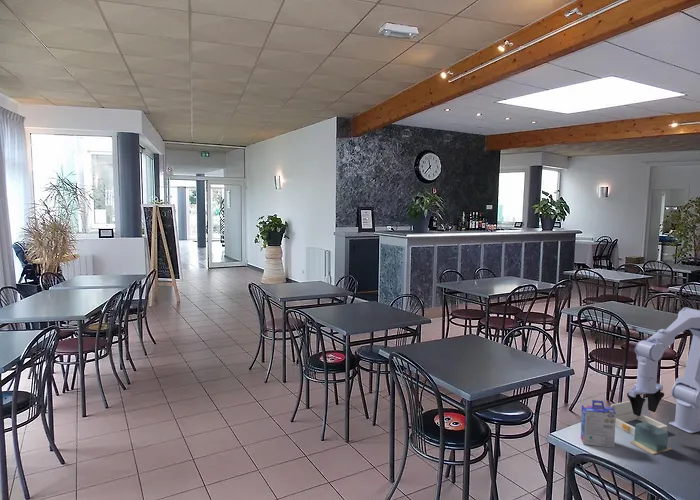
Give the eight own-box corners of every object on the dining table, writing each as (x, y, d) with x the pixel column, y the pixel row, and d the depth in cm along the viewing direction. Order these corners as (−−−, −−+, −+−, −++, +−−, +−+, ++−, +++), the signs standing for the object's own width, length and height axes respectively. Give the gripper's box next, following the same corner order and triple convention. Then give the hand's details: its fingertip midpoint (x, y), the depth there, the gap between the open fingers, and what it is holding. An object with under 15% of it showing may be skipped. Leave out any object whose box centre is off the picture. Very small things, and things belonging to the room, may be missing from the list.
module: (644, 437, 164) (645, 421, 163) (666, 449, 157) (668, 432, 156) (634, 440, 162) (635, 423, 162) (656, 452, 155) (657, 434, 154)
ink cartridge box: (609, 440, 163) (612, 400, 162) (615, 448, 158) (617, 407, 156) (579, 437, 165) (581, 397, 164) (583, 445, 160) (586, 404, 158)
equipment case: (636, 417, 180) (636, 411, 180) (666, 432, 169) (667, 425, 168) (610, 423, 175) (611, 417, 175) (640, 439, 164) (641, 432, 164)
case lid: (633, 416, 181) (635, 399, 180) (638, 418, 179) (639, 401, 178) (609, 422, 176) (610, 404, 175) (613, 424, 174) (614, 406, 174)
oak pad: (648, 438, 165) (648, 437, 165) (671, 449, 157) (671, 448, 157) (630, 442, 161) (630, 441, 161) (652, 454, 154) (652, 453, 154)
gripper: (650, 368, 168) (647, 404, 170) (621, 374, 163) (619, 411, 165) (669, 375, 162) (667, 412, 163) (640, 381, 157) (638, 420, 158)
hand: (644, 412), depth 164 cm, fingers open, 7 cm apart
